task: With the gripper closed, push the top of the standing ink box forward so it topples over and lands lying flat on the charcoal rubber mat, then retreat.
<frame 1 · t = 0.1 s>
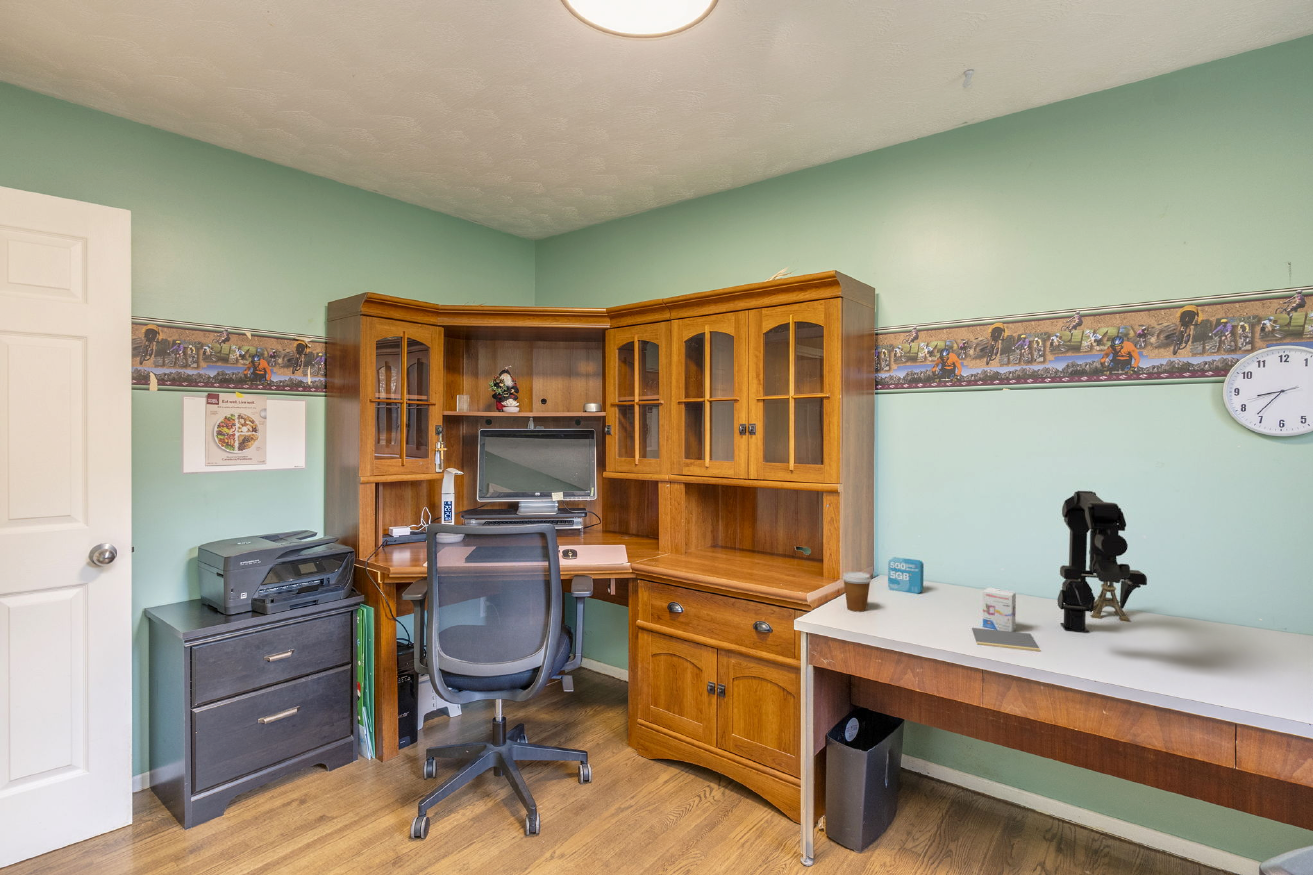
hand: (1101, 606, 174), 15 cm above the table, fingers open, 9 cm apart
mat: (1004, 639, 191), on the table
eiffel tower: (1108, 616, 215), on the table
disposable coffee cup: (856, 609, 222), on the table
data package: (905, 591, 246), on the table
ink box: (998, 628, 202), on the table
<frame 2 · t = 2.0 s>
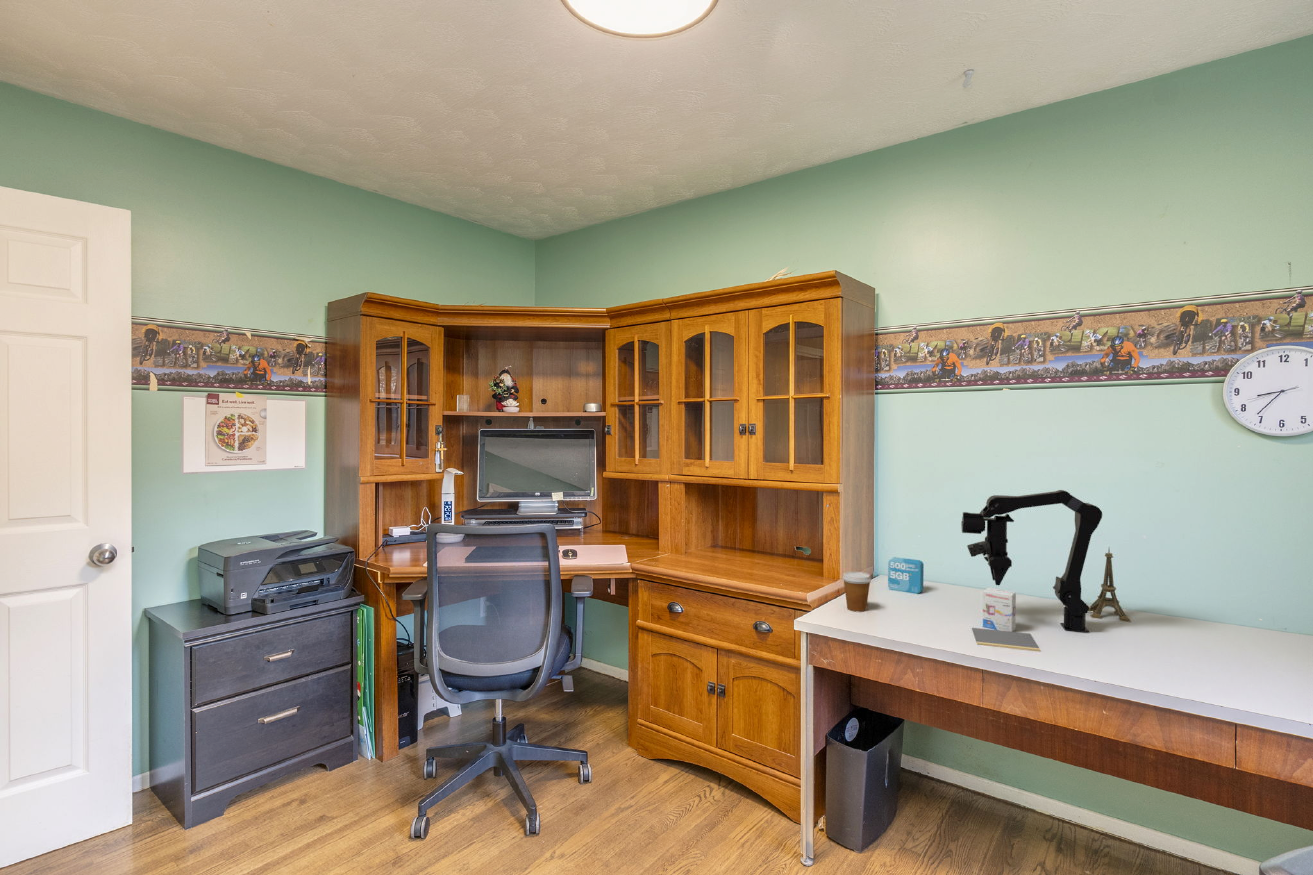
hand: (996, 582, 208), 13 cm above the table, fingers open, 6 cm apart
nothing on the table moved.
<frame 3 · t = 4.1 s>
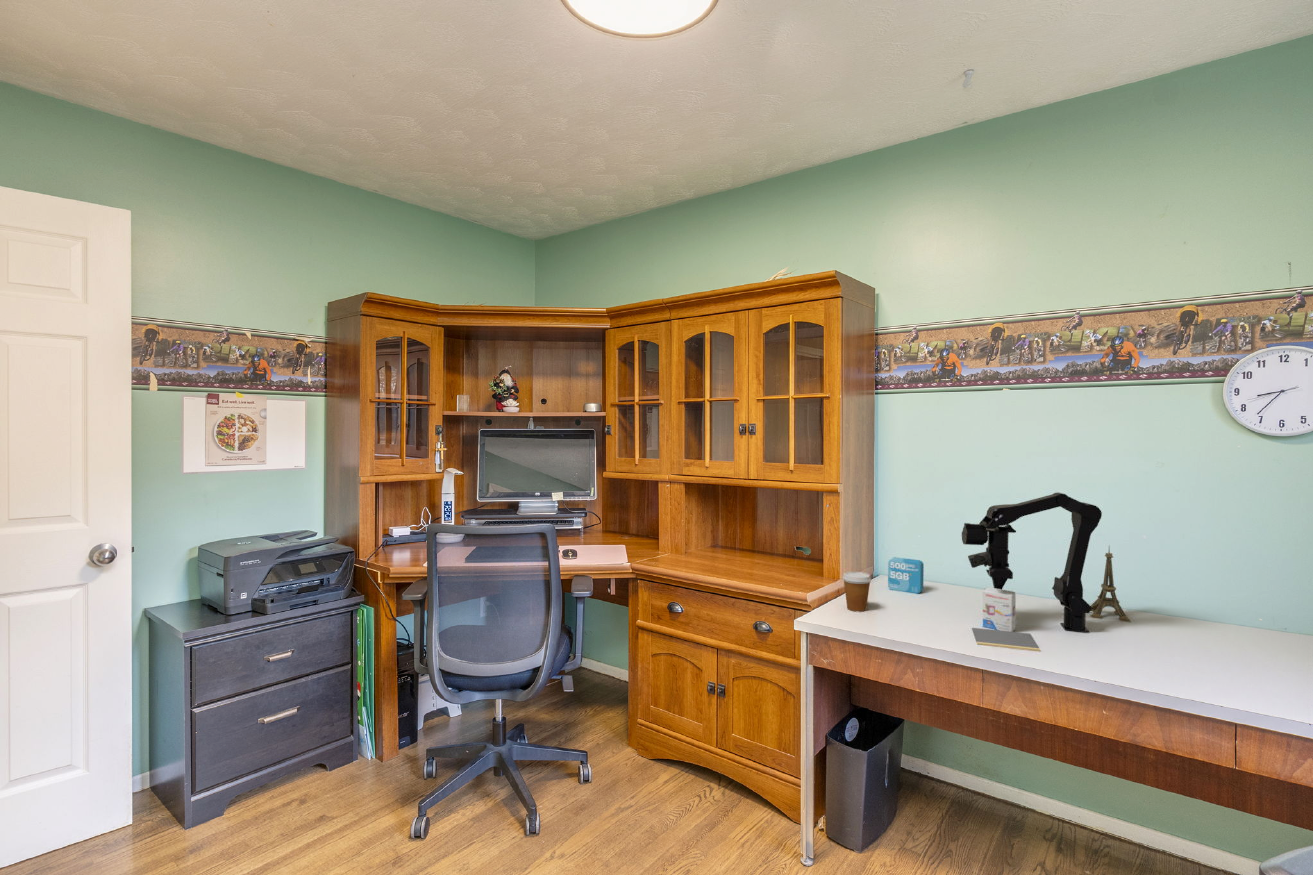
hand: (997, 594, 205), 10 cm above the table, fingers closed
ink box: (998, 628, 202), on the table, touching gripper
everything else where it was.
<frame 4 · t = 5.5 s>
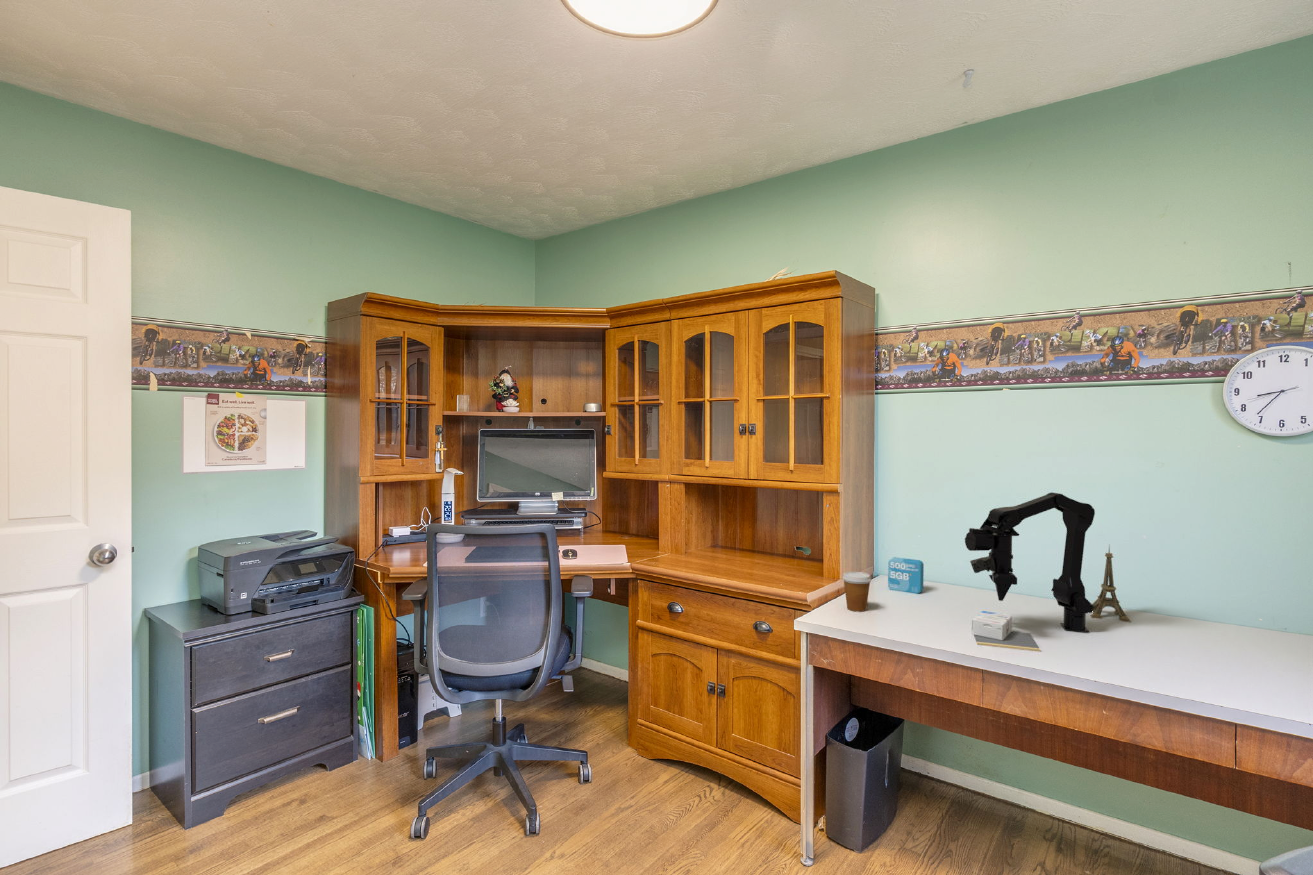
hand: (1000, 600, 198), 10 cm above the table, fingers closed
ink box: (997, 620, 200), point 3 cm above the table, touching mat
everything else where it was.
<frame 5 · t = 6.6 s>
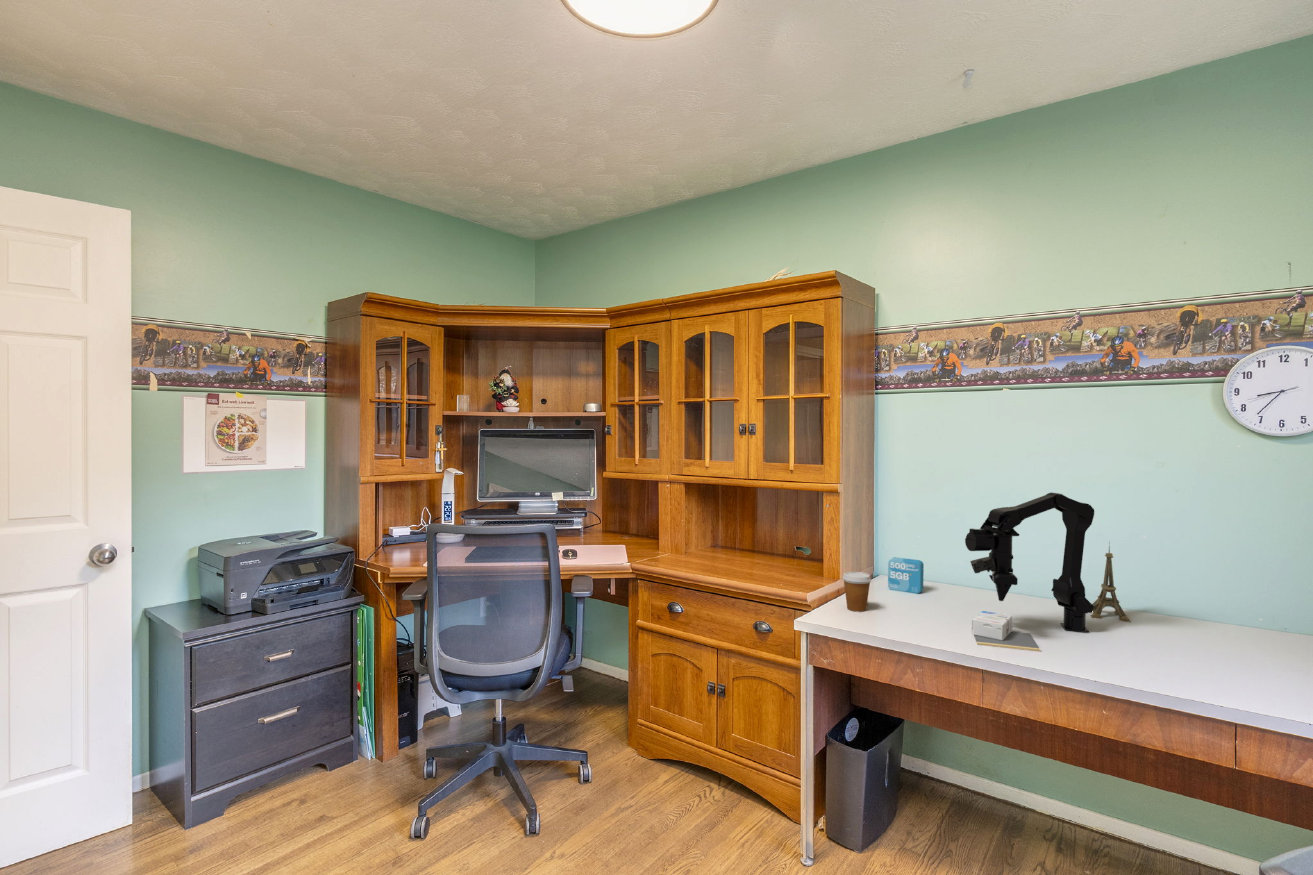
hand: (1000, 600, 198), 9 cm above the table, fingers closed
nothing on the table moved.
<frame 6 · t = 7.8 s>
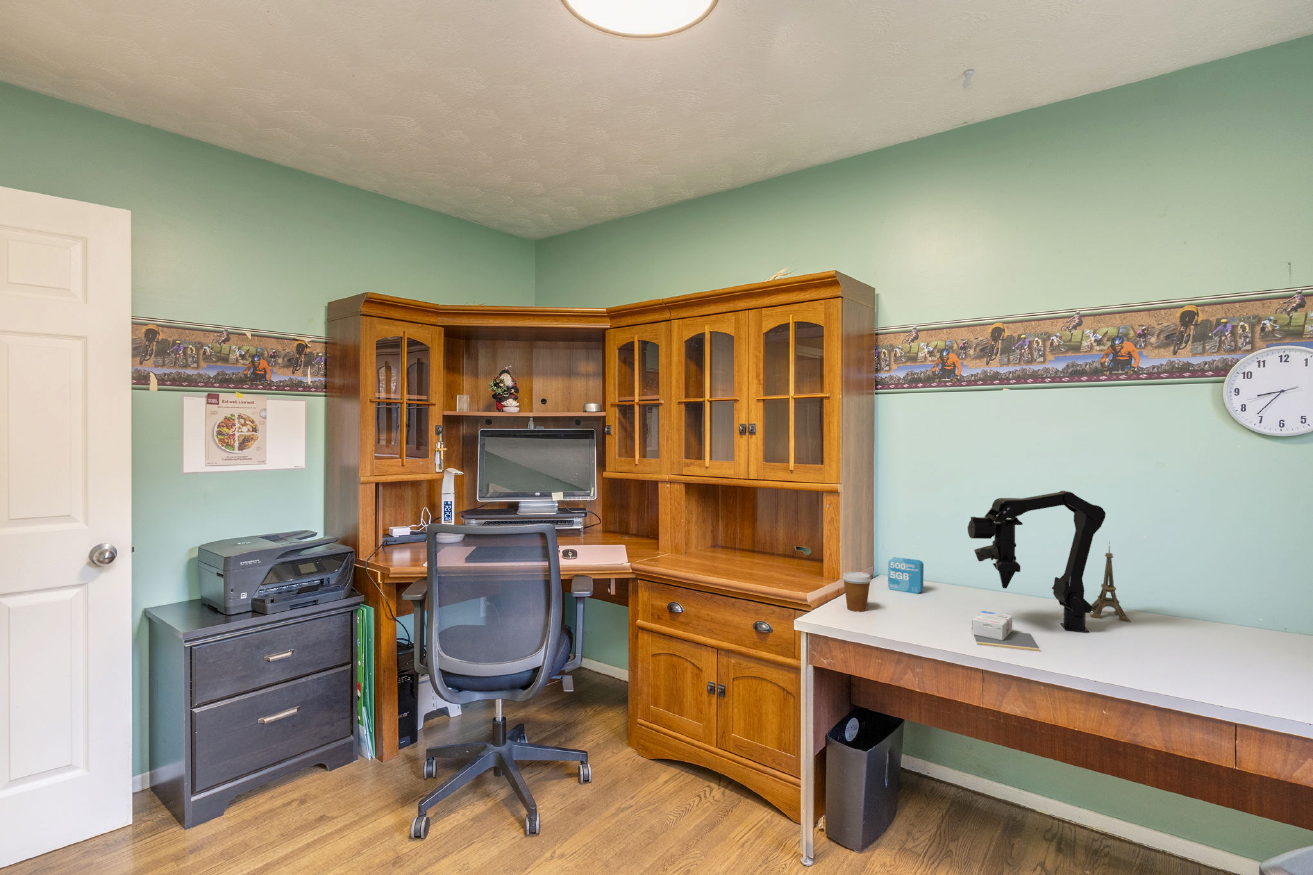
hand: (1004, 588, 203), 12 cm above the table, fingers closed
nothing on the table moved.
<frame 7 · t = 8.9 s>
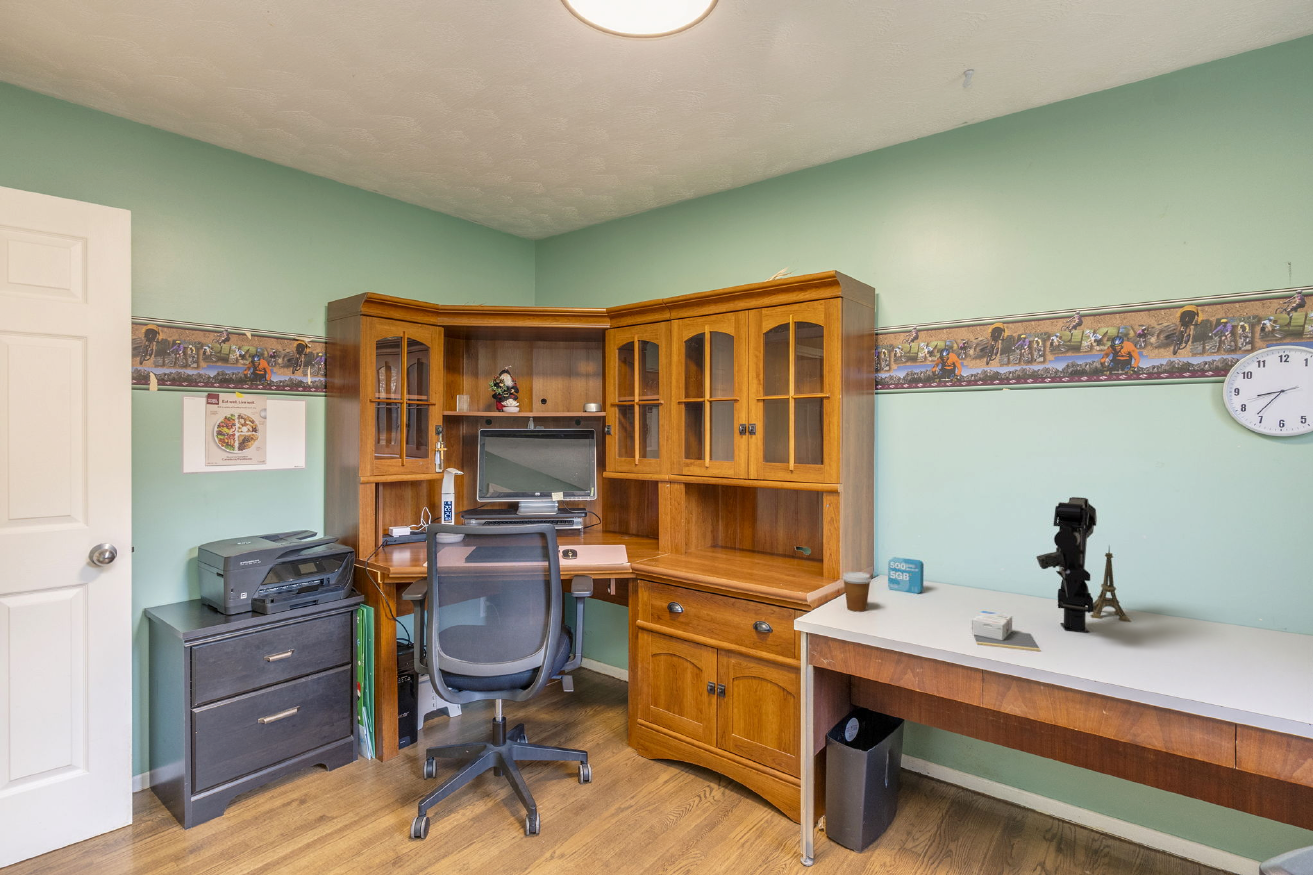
hand: (1069, 597, 191), 13 cm above the table, fingers closed
nothing on the table moved.
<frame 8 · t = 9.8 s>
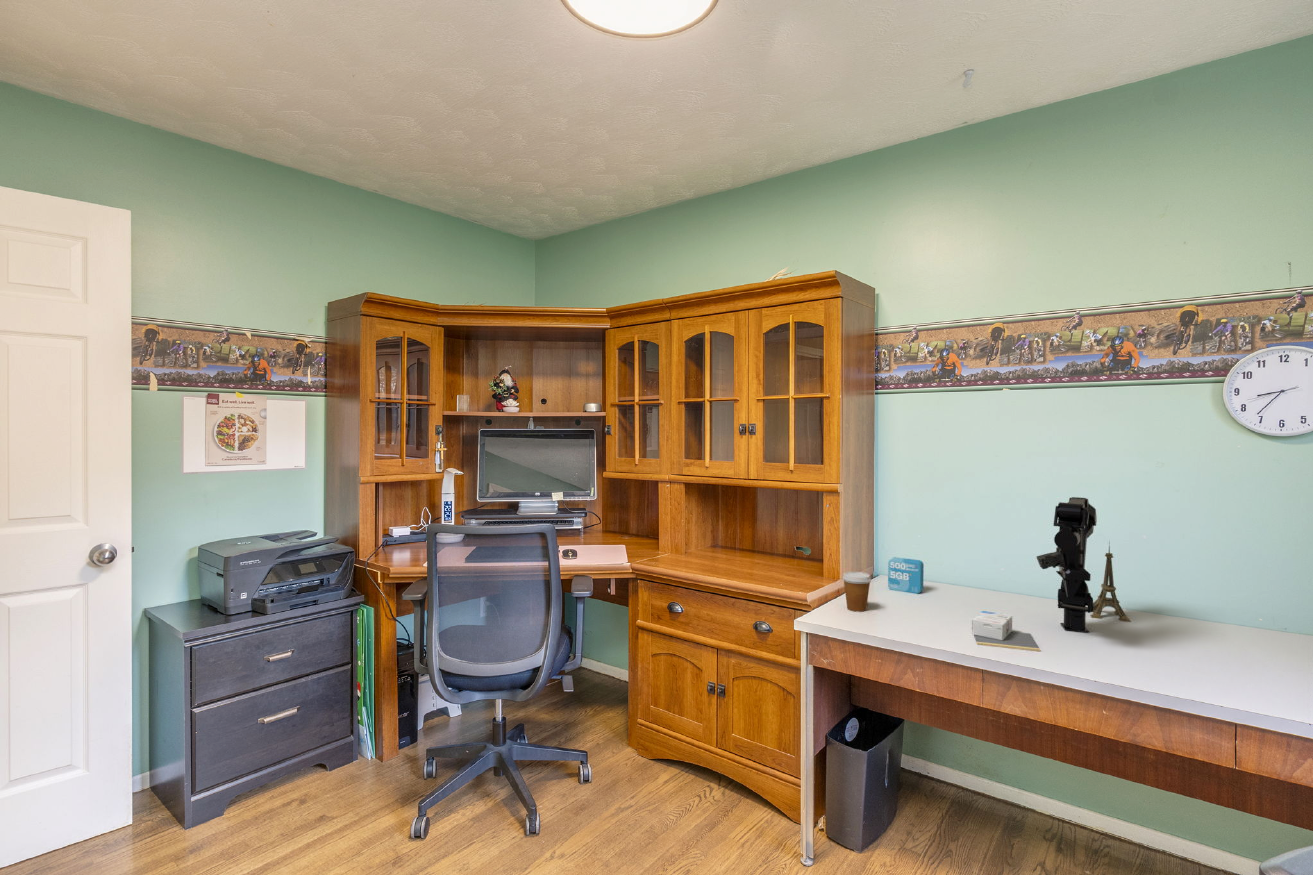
hand: (1069, 597, 191), 13 cm above the table, fingers closed
nothing on the table moved.
at the end: ink box tilted 89°; ink box inside the target area (8.5 cm from its centre), point 2.7 cm above the table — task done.
